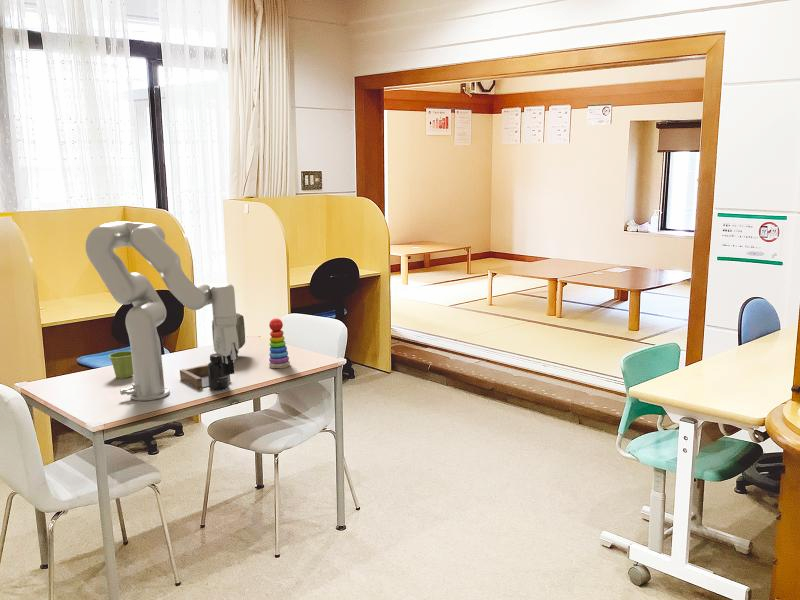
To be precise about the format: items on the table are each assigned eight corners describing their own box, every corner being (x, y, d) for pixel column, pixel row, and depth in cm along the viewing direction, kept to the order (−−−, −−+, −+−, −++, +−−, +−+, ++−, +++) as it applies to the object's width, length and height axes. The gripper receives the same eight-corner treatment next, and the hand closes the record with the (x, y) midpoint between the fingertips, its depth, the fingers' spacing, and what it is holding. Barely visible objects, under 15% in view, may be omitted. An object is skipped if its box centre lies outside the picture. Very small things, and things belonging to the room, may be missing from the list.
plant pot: (107, 380, 264) (105, 358, 262) (115, 373, 273) (112, 351, 271) (133, 379, 265) (131, 356, 263) (140, 372, 274) (138, 350, 272)
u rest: (198, 389, 250) (197, 379, 250) (180, 379, 262) (179, 370, 262) (230, 381, 258) (229, 372, 257) (211, 372, 270) (211, 363, 269)
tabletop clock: (225, 353, 297) (221, 294, 293) (247, 353, 297) (242, 293, 292) (214, 363, 283) (209, 300, 279) (237, 362, 283) (232, 300, 278)
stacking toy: (291, 363, 280) (288, 316, 276) (288, 368, 272) (285, 320, 268) (270, 363, 280) (267, 316, 276) (267, 369, 272) (264, 321, 268)
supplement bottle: (224, 391, 247) (221, 357, 245) (205, 390, 248) (202, 357, 246) (232, 385, 254) (230, 352, 251) (214, 384, 255) (212, 351, 253)
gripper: (205, 319, 243) (209, 371, 246) (224, 326, 231) (228, 381, 235) (225, 315, 247) (229, 367, 251) (245, 322, 236) (249, 376, 239)
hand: (229, 373), depth 243 cm, fingers closed
